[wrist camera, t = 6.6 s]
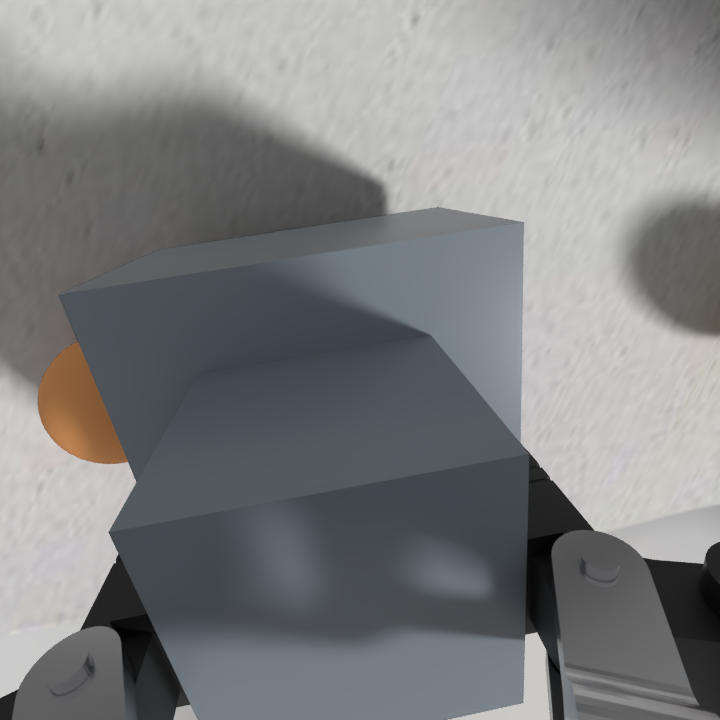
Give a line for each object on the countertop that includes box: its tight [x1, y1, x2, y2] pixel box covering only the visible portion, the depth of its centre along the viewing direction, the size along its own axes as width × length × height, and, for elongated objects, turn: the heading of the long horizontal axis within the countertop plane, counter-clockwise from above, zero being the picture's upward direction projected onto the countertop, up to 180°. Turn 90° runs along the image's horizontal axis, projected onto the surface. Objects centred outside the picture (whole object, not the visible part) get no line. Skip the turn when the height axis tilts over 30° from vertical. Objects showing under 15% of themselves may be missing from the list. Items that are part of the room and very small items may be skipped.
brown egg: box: [38, 342, 128, 464], centre depth 17 cm, size 5×5×5 cm
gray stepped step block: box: [58, 207, 529, 720], centre depth 12 cm, size 10×10×12 cm
